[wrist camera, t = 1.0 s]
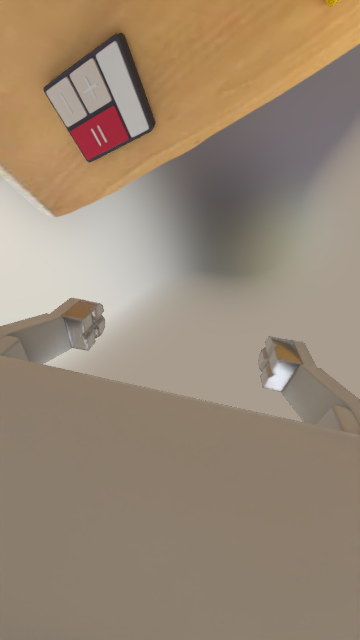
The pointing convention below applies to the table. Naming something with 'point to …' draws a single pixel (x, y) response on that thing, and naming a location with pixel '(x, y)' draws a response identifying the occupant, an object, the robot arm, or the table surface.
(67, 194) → the table surface
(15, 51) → the table surface
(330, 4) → the watch
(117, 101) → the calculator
